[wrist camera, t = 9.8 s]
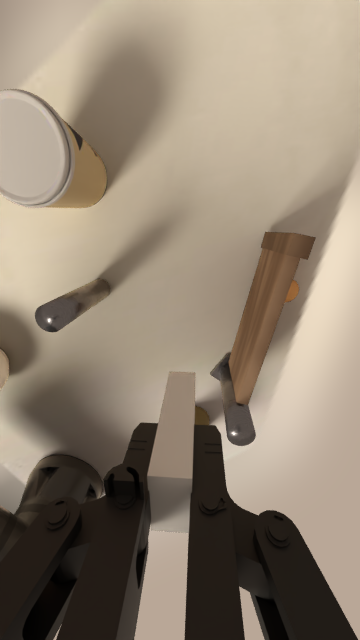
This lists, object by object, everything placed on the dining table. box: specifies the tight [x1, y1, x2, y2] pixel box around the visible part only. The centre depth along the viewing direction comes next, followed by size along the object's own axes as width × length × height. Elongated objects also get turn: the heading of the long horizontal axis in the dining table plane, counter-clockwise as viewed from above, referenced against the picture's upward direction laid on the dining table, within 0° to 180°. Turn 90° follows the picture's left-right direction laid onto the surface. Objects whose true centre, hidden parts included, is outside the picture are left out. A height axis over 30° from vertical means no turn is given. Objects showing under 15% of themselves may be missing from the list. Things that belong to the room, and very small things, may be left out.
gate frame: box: [35, 279, 256, 446], centre depth 34 cm, size 4×28×14 cm, turn 56°
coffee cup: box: [0, 89, 107, 208], centre depth 28 cm, size 9×9×12 cm
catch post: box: [285, 280, 299, 302], centre depth 33 cm, size 3×3×6 cm
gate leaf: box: [228, 232, 315, 405], centre depth 31 cm, size 2×20×11 cm, turn 169°
